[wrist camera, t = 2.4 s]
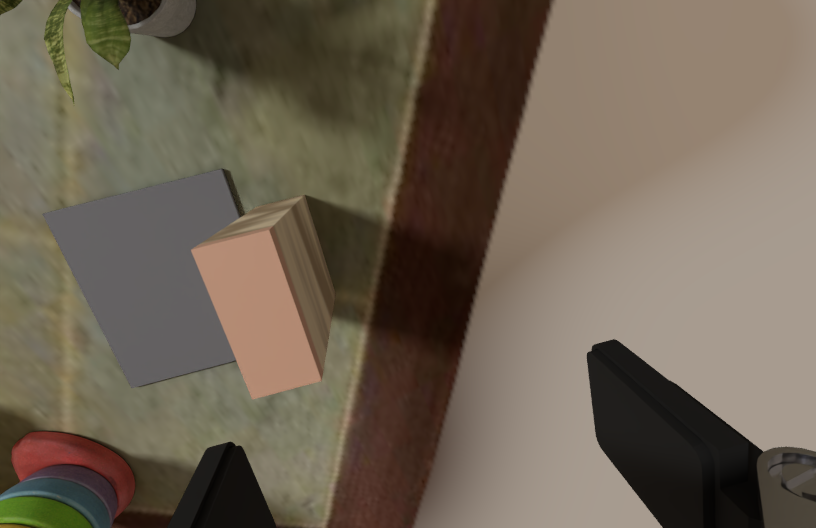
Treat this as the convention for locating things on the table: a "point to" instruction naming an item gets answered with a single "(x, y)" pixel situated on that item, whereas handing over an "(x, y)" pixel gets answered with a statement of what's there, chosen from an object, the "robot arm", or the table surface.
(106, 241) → the mat
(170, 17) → the house plant
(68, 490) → the stacking bear
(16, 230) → the table surface
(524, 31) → the table surface
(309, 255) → the maple block
